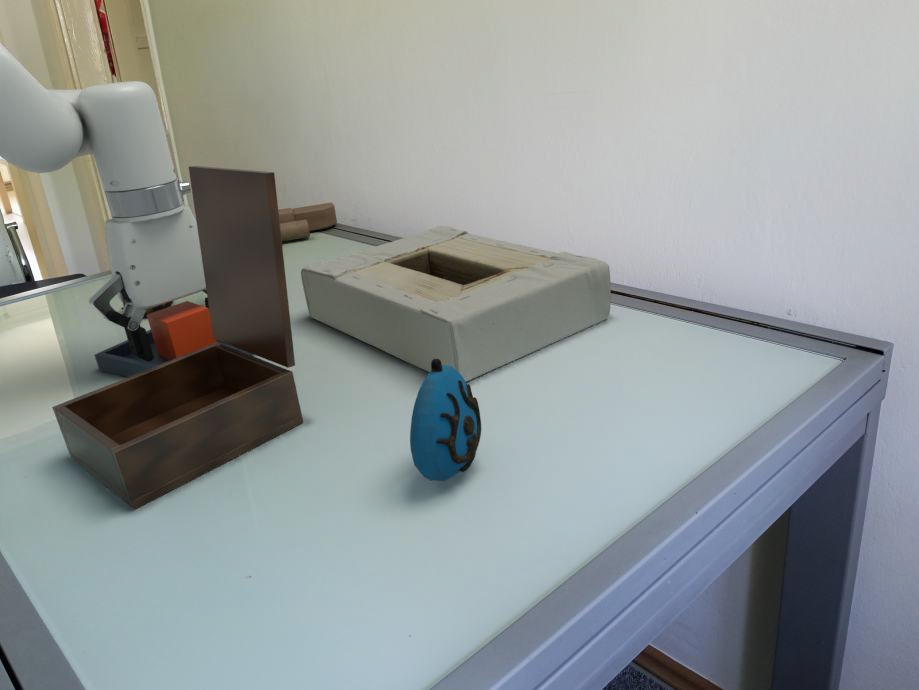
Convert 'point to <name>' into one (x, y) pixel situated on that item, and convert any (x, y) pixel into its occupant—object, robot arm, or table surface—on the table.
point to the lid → (243, 260)
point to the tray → (132, 358)
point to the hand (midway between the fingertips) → (184, 343)
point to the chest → (178, 420)
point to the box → (458, 298)
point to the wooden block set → (305, 220)
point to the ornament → (444, 424)
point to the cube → (181, 329)
